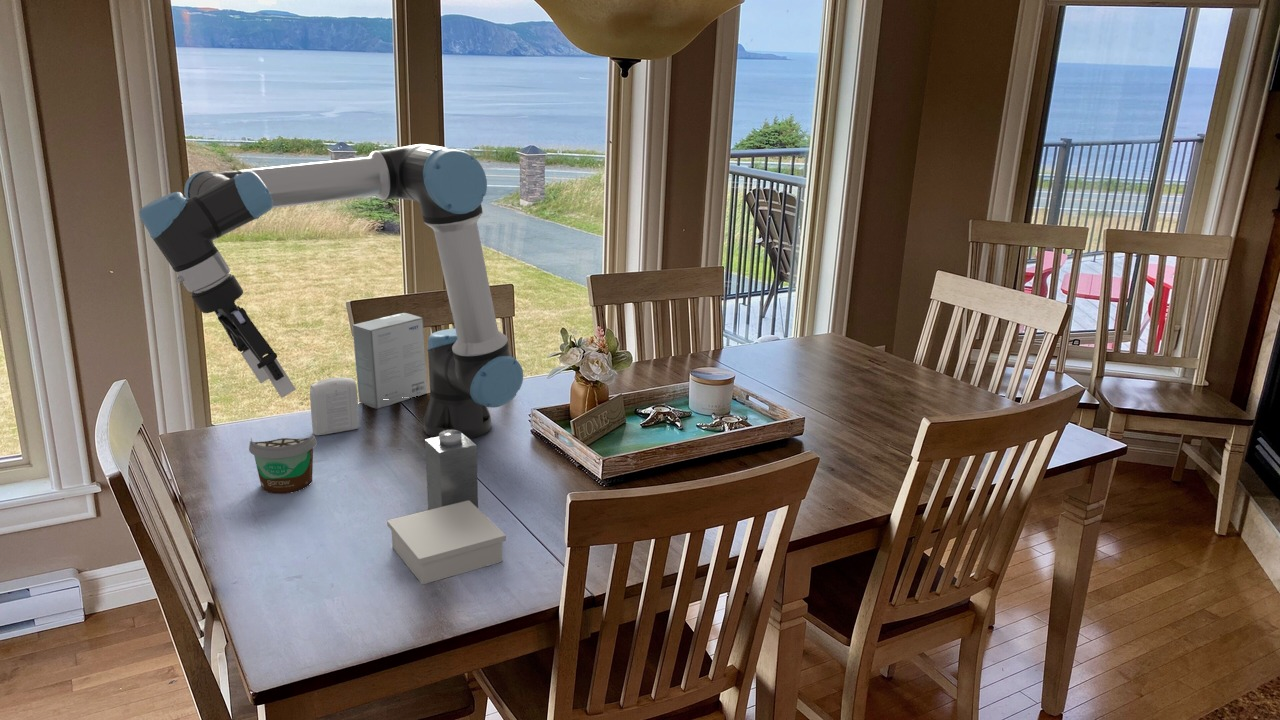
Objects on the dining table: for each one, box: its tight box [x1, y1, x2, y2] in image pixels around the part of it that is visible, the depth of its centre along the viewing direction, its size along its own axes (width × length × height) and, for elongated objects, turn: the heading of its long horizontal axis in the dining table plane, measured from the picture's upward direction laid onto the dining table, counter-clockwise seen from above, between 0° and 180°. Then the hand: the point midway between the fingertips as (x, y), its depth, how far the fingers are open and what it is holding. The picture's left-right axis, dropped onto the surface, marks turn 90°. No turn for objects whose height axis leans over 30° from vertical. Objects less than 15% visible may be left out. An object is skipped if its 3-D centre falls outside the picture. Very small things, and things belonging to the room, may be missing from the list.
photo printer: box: [309, 376, 360, 436], centre depth 204 cm, size 10×4×12 cm, turn 123°
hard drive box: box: [351, 312, 428, 410], centre depth 223 cm, size 16×8×20 cm, turn 141°
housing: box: [424, 430, 479, 510], centre depth 167 cm, size 7×7×16 cm
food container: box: [248, 433, 318, 495], centre depth 175 cm, size 12×6×10 cm, turn 105°
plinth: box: [386, 500, 507, 585], centre depth 154 cm, size 15×15×5 cm
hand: (277, 386), depth 163 cm, fingers open, 13 cm apart
